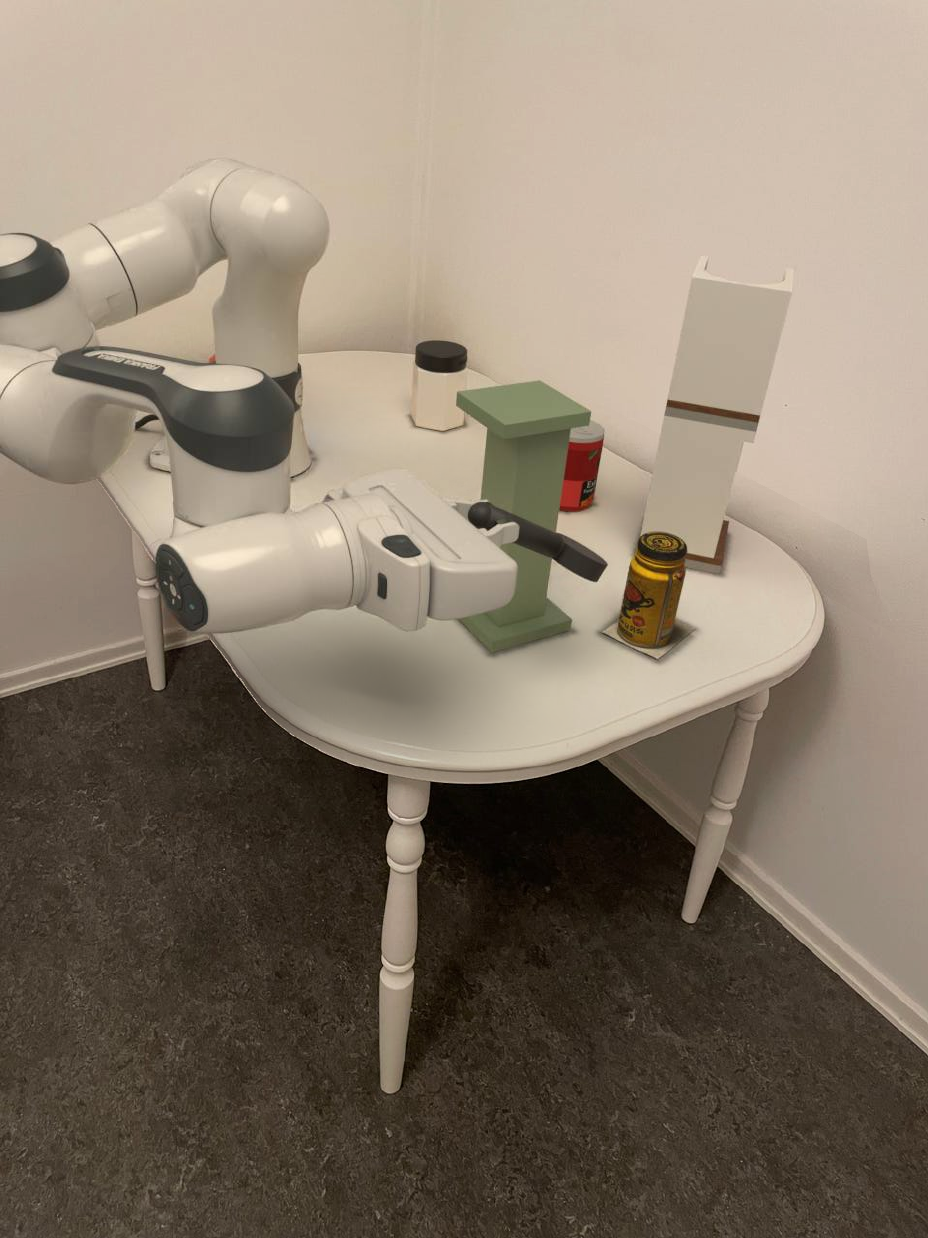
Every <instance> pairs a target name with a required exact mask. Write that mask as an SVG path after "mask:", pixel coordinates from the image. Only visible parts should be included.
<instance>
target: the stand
mask: <svg viewBox="0 0 928 1238" xmlns="http://www.w3.org/2000/svg"><path fill="white" fill-rule="evenodd" d="M456 406H457V407H459V408H460V409H461V410H463V411H464V413H465V414H467V415H468V416H470V417H471V418H473V419H474V420H475V421H476V422H478V423H479V424H481V425H482V426H484V427H485V428H486V438H485V448H484V460H483V470H482V471H483V472H482V478H481V479H482V480H481V481H482V482H481V489H480V491H481V492H480V500H484V499H486V500H488V501H489V502H491V503H492V504H493V505H494V506H495V507H498V508H500V509H502V510H505V511H507V512H509V513H512V514H514V515H516V516H518V517H521V518H523V519H525V520H528V521H530V522H532V523H535V524H537V525H539V526H542V527H544V528H546V529H548V530H551V531H553V532H555V533H557V527H558V520H559V515H560V510H559V507H560V500H561V494H562V487H563V480H564V473H565V466H566V459H567V452H568V446H569V439H570V432H571V428H577V427H583V426H589V424H590V420H591V416H592V410H590V409H589V408H587V407H585V406H584V405H582V404H580V403H578V402H577V401H575V400H574V399H572V398H570V397H569V396H567V395H565V394H563V393H562V392H560V391H559V390H557V389H555V388H553V387H552V386H550V385H548V383H545V382H544V381H542V380H531V381H526V382H525V381H524V382H517V383H510V384H503V385H502V384H501V385H496V386H488V387H482V388H481V387H480V388H474V389H466V390H465V391H457V398H456ZM500 549H501V550H503V551H504V552H505V553H506V554H507V555H508V556H509V557H511V558H512V559H513V560H514V561H515V562H516V563H517V567H518V571H517V580H516V588H515V594H514V596H513V598H512V599H511V601H510V602H509V603H508V604H507V605H505V606H503V607H501V608H498V609H495V610H492V611H488V612H484V613H481V614H477V615H473V616H469V617H464V618H460V619H458V620H459V621H460V622H461V623H462V624H463V625H464V627H466V629H467V630H469V631H470V633H471V634H472V635H473V636H474V637H475V638H476V639H477V640H478V641H479V642H480V643H481V644H482V645H483V646H484V648H486V649H487V650H488V651H489V652H490V653H491V654H492V653H496V652H499V651H503V650H507V649H510V648H513V647H518V646H520V645H521V646H522V645H524V644H527V643H531V642H534V641H539V640H542V639H545V638H549V637H552V636H556V635H559V634H563V633H566V632H567V633H568V632H570V631H571V630H572V629H571V628H572V622H573V619H572V617H570V616H568V615H567V613H566V612H564V611H563V610H562V609H561V608H560V607H559V606H557V605H556V604H555V603H554V602H553V601H552V600H551V599H549V598H548V597H547V595H548V589H549V583H550V575H551V568H552V561H553V559H552V558H550V557H547V556H544V555H542V554H539V553H537V552H534V551H532V550H529V549H527V548H524V547H522V546H519V545H517V544H514V543H508V544H503V545H502V546H501V547H500Z"/></svg>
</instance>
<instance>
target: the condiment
mask: <svg viewBox="0 0 928 1238" xmlns="http://www.w3.org/2000/svg"><path fill="white" fill-rule="evenodd" d="M634 551H635V552H634V556H632V558H631V559H630V562H629V566H628V571H627V576H626V581H625V586H624V587H625V588H624V590H623V591H624V592H623V598H622V602H621V607H620V611H619V618H618V620H617V621H615V622H614V623H612V624H611V625H610V626H608V627H607V628H606V629H604V630H602V631H601V632H602V633H603V634H605V635H606V636H608V637H611V638H613V639H614V640H616V641H618V642H620V643H622V644H624V645H626V646H628V647H630V648H632V649H635V650H637V651H638V652H642V653H643V654H646V655H648V656H650V657H653V658H655V659H657V660H659V659H660V658H661V657H663V656H664V655H665V654H666V653H668V651H670V650H672V649H673V648H674V647H675V646H676V645H678V643H679V642H680V641H682V640H683V639H684V638H685V637H687V636H688V635H689V634H691V632H692V631H694V630H695V629H696V627H694V626H691V625H687V624H686V623H682V622H681V621H679V620H676V618H677V617H676V616H677V613H678V608H679V605H680V604H679V603H680V600H681V595H682V592H683V591H682V590H683V587H684V582H685V578H686V574H687V573H686V572H687V569H686V568H687V567H685V565H684V563H685V561H686V559H685V556H686V553H687V545H686V544H685V542H684V541H683V540H682V539H681V538H679V537H677V536H676V535H673V534H670V533H666V532H656V531H655V532H648V533H645V534H643V535H642V536H640V535H639V539H638V540H637V545H636V548H635V550H634Z"/></svg>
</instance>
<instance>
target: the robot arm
mask: <svg viewBox="0 0 928 1238" xmlns="http://www.w3.org/2000/svg"><path fill="white" fill-rule="evenodd" d="M330 227H331V226H330V219H329V216H328V213H327V211H326V209H325V207H324V205H323V204H322V203H321V201H320V200H319V199H318V198H317V197H315V196H314V194H312V193H311V192H310V191H309V190H308V189H306V188H305V187H304V186H302V185H301V184H300V183H299V182H297V180H296V181H295V180H294V179H292V178H289V177H287V176H284V175H281V174H279V173H276V172H272V171H269V170H267V169H264V168H261V167H256V166H254V165H250V164H248V163H245V162H242V161H239V160H236V159H233V158H228V157H218V158H217V157H216V158H206V159H201V160H197V161H195V162H193V163H192V164H190V165H189V166H187V167H186V168H185V170H184V171H183V172H182V174H181V175H180V178H179V179H178V180H176V181H175V182H174V183H171V184H170V185H169V186H167V187H166V188H164V189H163V190H161V191H160V192H158V193H157V194H155V195H153V196H152V197H150V198H149V199H146V200H144V201H142V202H139V203H137V204H135V205H132V206H130V207H129V206H128V207H127V208H125V209H121V210H119V211H117V212H114V213H112V214H109V215H107V216H104V217H101V218H99V219H96V220H94V221H91V222H88V223H85V224H83V225H80V226H78V227H75V228H73V229H71V230H69V231H67V232H65V233H63V234H61V235H59V236H57V237H55V238H53V239H51V240H49V241H47V240H45V239H43V238H41V237H38V236H36V235H34V234H31V233H26V232H9V233H2V234H0V454H1V455H3V456H4V457H5V458H7V459H9V460H10V461H12V462H14V464H17V465H18V466H20V467H21V468H23V469H25V470H26V471H28V472H29V473H32V474H33V475H35V476H37V477H39V478H41V479H44V480H47V481H49V482H53V483H57V484H62V485H80V484H85V483H88V482H92V481H94V480H97V479H99V478H101V477H102V476H104V475H106V474H108V472H111V470H112V469H113V468H115V467H116V466H117V465H118V464H119V463H120V461H121V460H122V459H123V458H124V457H125V455H126V453H128V450H129V448H130V447H131V445H132V442H133V439H134V435H135V431H136V429H140V428H142V427H144V426H146V425H147V424H148V423H150V422H153V421H159V422H160V424H161V427H162V429H163V432H164V436H162V437H161V438H160V439H159V440H158V441H157V442H156V443H155V444H154V446H153V447H152V449H151V450H150V454H149V463H150V465H151V467H152V468H153V469H157V470H162V471H166V472H170V478H171V479H170V481H171V491H172V510H173V519H172V531H171V534H170V537H169V539H167V540H165V541H163V542H162V543H160V545H159V546H158V548H157V550H156V553H155V573H156V574H155V575H156V580H157V585H158V587H159V591H160V593H161V595H162V597H163V600H164V602H165V605H166V607H167V609H168V612H169V613H170V614H171V616H172V617H173V618H174V619H175V621H176V622H177V623H178V624H179V625H180V626H181V627H183V628H184V629H185V630H186V631H188V632H190V633H194V634H201V635H219V634H221V635H222V634H232V633H240V632H247V631H254V630H257V629H258V630H259V629H265V628H268V627H273V626H277V625H282V624H286V623H290V622H294V621H296V620H298V619H300V618H301V617H303V616H305V615H307V614H309V613H312V612H315V611H320V610H327V611H329V610H330V611H339V610H345V609H348V608H353V607H356V608H357V609H358V610H360V611H362V612H365V613H368V614H370V615H373V616H375V617H377V618H379V619H382V620H384V621H385V622H387V623H389V624H390V625H392V626H394V627H396V628H397V629H399V630H401V631H404V632H416V631H419V630H422V629H424V628H425V627H426V626H427V619H428V618H429V619H432V620H435V621H453V620H459V619H460V618H464V617H469V616H473V615H477V614H481V613H484V612H488V611H492V610H495V609H498V608H501V607H503V606H505V605H507V604H508V603H509V602H510V601H511V599H512V598H513V596H514V594H515V588H516V580H517V571H518V567H517V563H516V562H515V561H514V560H513V559H512V558H511V557H509V556H508V555H507V554H506V553H505V552H504V551H503V550H501V549H500V547H501V546H502V545H503V544H508V543H512V542H515V541H516V540H517V539H518V535H519V525H518V524H517V523H515V522H514V521H513V520H511V519H510V518H508V517H506V518H504V519H496V520H494V527H493V528H492V529H490V530H489V531H487V530H486V529H485V528H481V529H477V528H476V527H475V526H474V525H472V524H471V523H470V522H469V520H468V511H469V509H470V507H471V506H472V505H473V504H475V503H477V502H486V503H488V504H491V505H493V504H492V503H491V502H489V501H488V500H486V499H484V500H481V499H478V500H473V501H472V500H466V499H459V498H451V497H449V498H445V499H443V498H442V497H441V496H440V495H439V494H438V493H436V491H434V490H433V489H432V488H431V487H430V486H428V485H427V484H426V483H425V482H424V481H423V480H422V479H420V478H419V477H418V476H417V475H416V474H414V472H412V470H409V469H404V468H391V469H385V470H381V471H377V472H374V473H369V474H366V475H362V476H359V477H356V478H353V479H351V480H348V481H347V482H345V483H344V484H343V486H342V488H339V489H333V490H330V491H328V492H327V494H326V495H325V496H324V498H323V500H322V501H321V502H317V503H314V504H311V505H309V506H306V507H305V508H303V509H301V510H298V511H295V512H293V510H292V509H291V507H290V506H291V478H292V477H295V476H298V475H299V474H301V473H303V472H305V471H306V470H307V469H308V468H309V467H310V466H311V464H312V461H313V459H312V455H311V452H310V449H309V446H308V442H307V438H306V434H305V433H306V432H305V427H304V422H303V415H302V405H303V401H304V380H303V372H302V364H301V363H300V362H299V311H300V304H301V298H302V294H303V291H304V290H303V289H304V286H305V283H306V280H307V277H308V274H309V273H310V271H311V270H312V269H313V268H314V267H315V266H316V265H317V264H318V263H319V262H320V260H321V259H322V258H323V257H324V255H325V252H326V250H327V248H328V246H329V241H330V235H331V234H330V233H331V232H330ZM226 260H227V271H226V277H225V282H224V287H223V291H222V293H221V295H219V296H218V297H217V298H216V299H215V301H214V304H213V306H212V310H211V313H212V314H211V315H212V316H211V317H212V330H213V343H214V354H213V355H212V356H210V358H208V362H199V361H193V360H188V359H183V358H178V357H173V356H167V355H164V354H163V355H162V354H157V353H152V352H148V351H142V350H137V349H132V348H125V347H119V346H111V345H110V346H109V345H101V342H100V339H99V335H98V333H97V331H100V330H103V329H105V328H109V327H112V326H115V325H118V324H122V323H123V322H126V321H129V320H130V319H133V318H135V317H138V316H139V315H142V314H144V313H147V312H149V311H152V310H155V309H156V308H158V307H161V306H164V305H165V304H168V303H170V302H172V301H175V300H177V299H179V298H182V297H184V296H187V295H188V294H189V293H191V292H192V291H193V290H194V288H195V287H196V285H197V283H198V279H199V277H201V275H203V274H204V273H206V271H208V270H209V269H211V268H212V267H213V266H215V265H216V264H218V263H221V262H222V261H226ZM137 412H142V413H146V414H147V415H145V416H143V417H142V418H140V419H139V420H138V421H136V420H137ZM493 506H494V505H493Z"/></svg>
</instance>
